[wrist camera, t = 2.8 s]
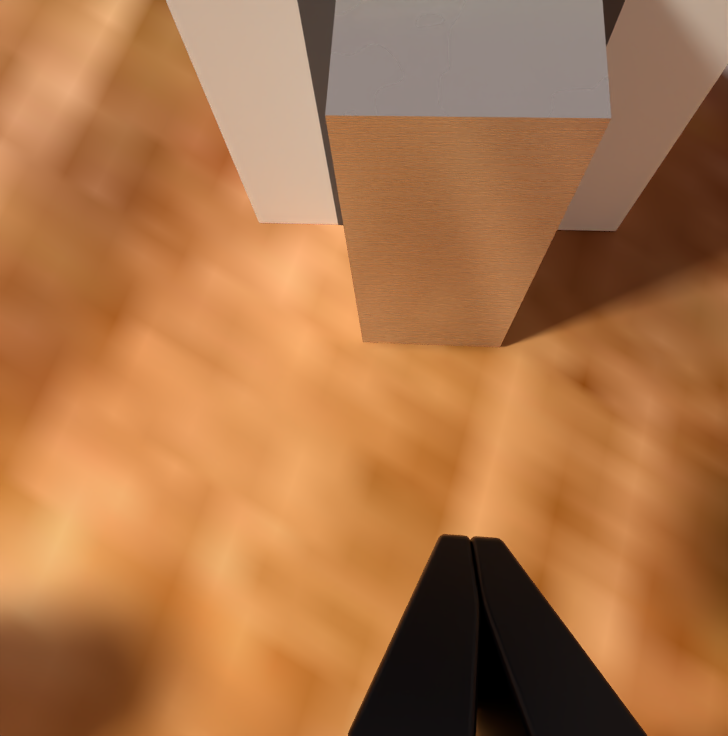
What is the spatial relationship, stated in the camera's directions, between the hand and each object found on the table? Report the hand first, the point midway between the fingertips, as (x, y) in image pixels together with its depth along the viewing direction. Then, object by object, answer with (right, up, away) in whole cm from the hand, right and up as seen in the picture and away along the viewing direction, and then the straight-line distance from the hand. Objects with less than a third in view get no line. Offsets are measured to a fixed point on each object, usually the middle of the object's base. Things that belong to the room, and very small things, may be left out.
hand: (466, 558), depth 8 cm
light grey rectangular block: (+1, +8, +15) cm, 17 cm away
